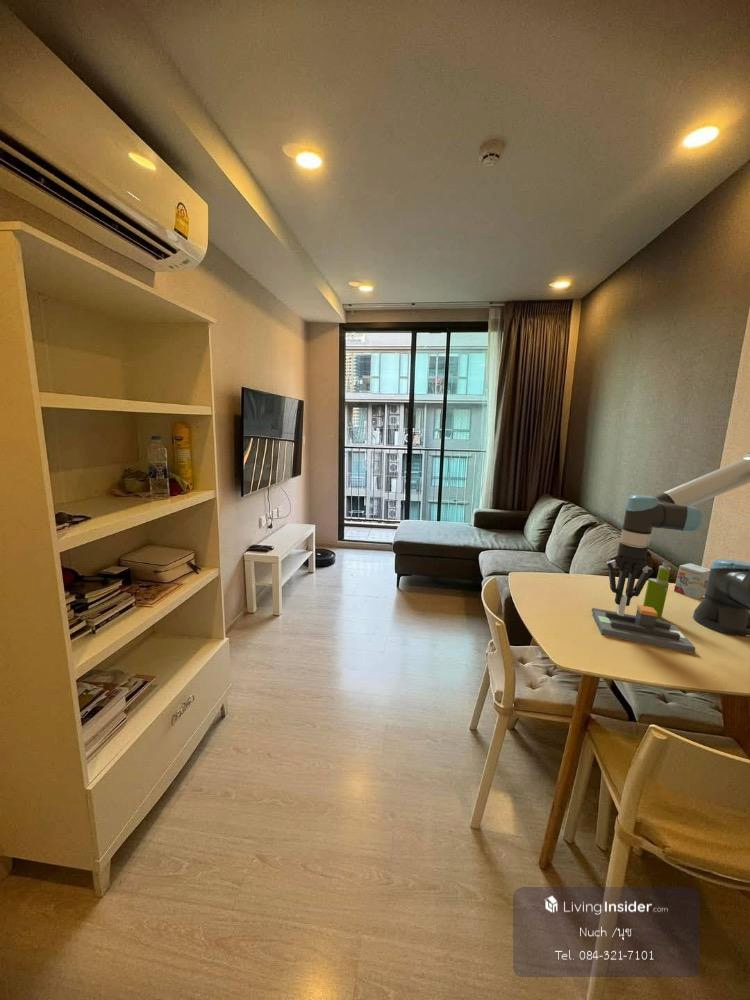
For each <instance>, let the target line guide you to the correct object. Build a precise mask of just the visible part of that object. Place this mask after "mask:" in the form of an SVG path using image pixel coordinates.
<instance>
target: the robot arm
mask: <svg viewBox="0 0 750 1000" xmlns="http://www.w3.org/2000/svg"><path fill="white" fill-rule="evenodd" d="M749 483H750V452H748V453H746V454H744V455H742V457H741V459H739V460H737V461H735V462H732V463H730V464H728V465H726V466H722V467H721V468H718V469H716V470H714V471H711V472H709V473H707V474H704V475H701V476H699V477H697V478H695V479H692V480H690V481H686V482H684V483H683V484H680V485H678V486H675V487H672V488H671V489H669V490H666V491H664V492H661V493H659V494H656V495H654V496H652V495H643V494H631V495H630V496H629V497H628V500H627V502H626V506H625V513H624V517H623V518H624V519H623V525H622V528H621V529H622V530H621V532H620V538H619V539H620V542H619V544H618V547H617V554H616V556H615V557H614V559H613V560H610V561H609V560H606V561H605V564H606V566H607V569H608V577H609V579H608V580H609V587H610V590H611V592H612V593H614V594H615V598H614V603H615V604H616V605H617V606H616V610H615V612H617V614H618V615H620V616H624V614H625V611H626V608H627V607H629V606H630V603H631V599H632V598H633V597H639V596H640V594H641V592H642V590H643V589H644V588H645V587H644V586H645V585H646V584H647V582H648V579H649V577H650V576H652V575H653V574H654V572H655V570H653V569H652V567H650V566H648V565H647V562H646V560H647V556H648V552H649V548H648V547H649V546H650V541H651V536H652V531H653V528H654V529H665V530H674V531H681V532H685V531H687V532H693V531H697V530H698V529H699V528H700V526H702V525H701V524H702V521H703V514H702V511H701V510H700V509H699V508H698V507H695V505H698V504H701V503H703V502H704V501H705V502H706V501H708V500H710V499H712V498H715V497H717V496H720V495H722V494H725V493H727V492H730V491H733V490H735V489H737V488H740V487H742V486H746V485H748V484H749ZM616 565H617V567H618V569H619V574H618V579H617V580H616V572H615V568H616ZM709 569H710V570H711V571H710V575H709V579H708V584H707V588H706V593H705V597H704V598H703V599H702V600H701V602H699V603H698V604H697V606H696V608H695V609H694V612H693V615H692V618H693V619H694V620H695V621H696V622H697V623H698V624H700V625H702V626H705V627H706V628H709V629H711V630H714V631H716V632H721V633H724V634H727V635H731V636H736V635H737V636H738V637H747V636H746V635H750V562H746V561H741V560H734V559H727V558H726V559H725V558H718V559H715V560H713V562H712V564H711V567H710V568H709ZM641 571H642V572H641ZM640 572H641V574H640V576H639V577H638V579H637V582H636V578H637V576H638V573H640ZM626 579H627V583H626ZM616 581H617V582H616ZM625 584H626V588H625ZM624 588H625V593H624Z"/></svg>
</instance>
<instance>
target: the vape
mask: <svg viewBox="0 0 750 1000" xmlns="http://www.w3.org/2000/svg"><path fill="white" fill-rule="evenodd" d="M671 570H672V568H671V567H670V562H669V561H663V562H662V565H659V566H658V572H657V576H656V578H653V577H650V578H649V577H648V579H647V583H646V584H647V585H646V589H645V594H644V599H643V604H642V606H647V607H653V608H654V609H655V611H656V612H657V613H658V614H657V617H656V619H662V616H663V613H664V612H663V611H664V607H665V603H666V598H667V593H668V590H669V579H670V575H671Z"/></svg>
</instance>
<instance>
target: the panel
mask: <svg viewBox="0 0 750 1000" xmlns="http://www.w3.org/2000/svg"><path fill="white" fill-rule="evenodd" d="M610 611H611V610H608V611H605V612H602V611H597V610H593V612H592V614H591V616H592V617H593V620H594V622H595V624H596V626H597V628H598V630H599V632H600V635H602V636H605V637H612V638H616V639H621V640H626V641H632V642H635V643H640V644H646V645H650V646H655V647H661V648H665V649H670V650H675V651H680V652H682V653H683V652H684V653H689V654H695V650H696V646H695V645H694V644H693V643H692V642H691V641H690V639H688V637H687V636H686V635H685V634H684V633H683V632H682V631H681V630H680V629H679V627H678V626H677V625H675V624H671V623H670V622H668V621H667V622H663V621H664V620H662V621H658V620H659V619H656V621H655V625H654V628H650V627H644V626H639V625H636V624H635V623H634V622H635V617H636V615H635V616H631V615H632V614H629V615H626V614H627V613H624V616H620V615H618V614H617V613H615V612H616V611H613V612H610Z"/></svg>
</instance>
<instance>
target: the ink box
mask: <svg viewBox="0 0 750 1000" xmlns="http://www.w3.org/2000/svg"><path fill="white" fill-rule="evenodd" d="M710 571H711V570H710V568H708V567H707V568H706V567H703V566H701V565H697V564H694V563H685V564H681V565H679V568H678V572H677V576H676V580H675V585H674V589H673V592H676V593H678V594H681V595H684V596H685V597H689V598H692V599H695V600H700V599H702V598H703V596H705V593H706V588H707V584H708V579H709V575H710ZM703 599H704V598H703Z"/></svg>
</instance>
